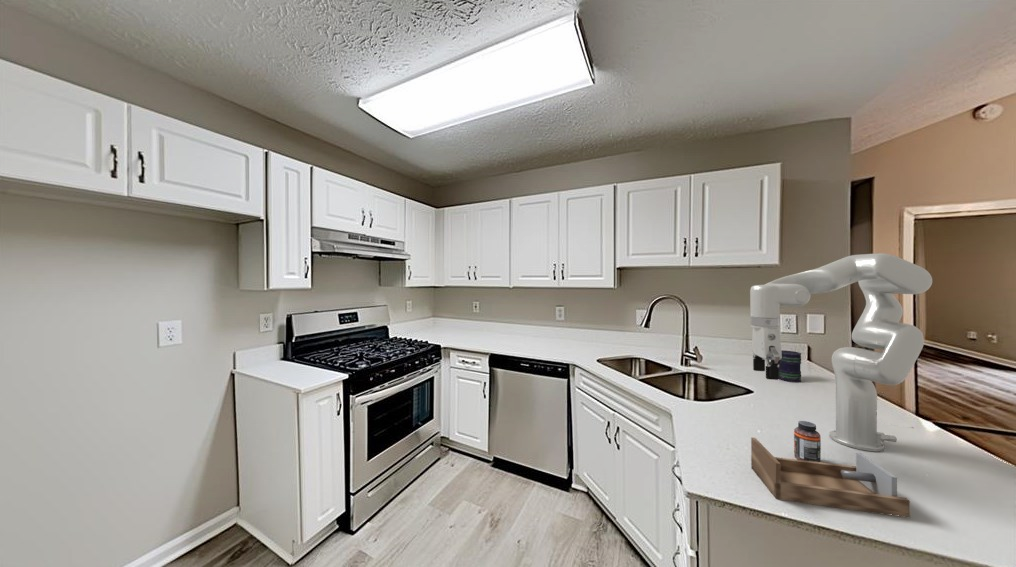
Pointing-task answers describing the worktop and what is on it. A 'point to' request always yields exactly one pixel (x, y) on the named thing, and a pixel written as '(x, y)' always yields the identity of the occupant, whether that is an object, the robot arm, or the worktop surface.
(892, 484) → the pusher plate
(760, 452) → the pusher lane
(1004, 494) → the worktop surface
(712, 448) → the worktop surface
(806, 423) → the supplement bottle
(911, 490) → the worktop surface
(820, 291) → the robot arm
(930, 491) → the worktop surface
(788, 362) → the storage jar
